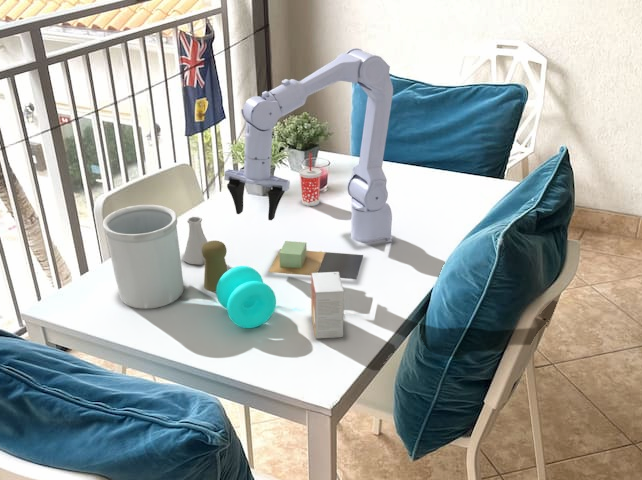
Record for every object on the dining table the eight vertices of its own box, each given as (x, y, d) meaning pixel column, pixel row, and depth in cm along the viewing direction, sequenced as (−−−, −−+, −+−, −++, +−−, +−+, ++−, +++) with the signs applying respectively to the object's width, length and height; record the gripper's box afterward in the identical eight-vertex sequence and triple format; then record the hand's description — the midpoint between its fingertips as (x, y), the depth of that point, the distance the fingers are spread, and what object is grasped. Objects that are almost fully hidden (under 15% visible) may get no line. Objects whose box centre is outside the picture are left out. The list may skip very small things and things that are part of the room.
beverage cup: (308, 196, 197) (307, 147, 189) (326, 201, 194) (326, 152, 186) (295, 203, 192) (294, 154, 185) (313, 208, 189) (312, 158, 182)
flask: (219, 255, 167) (216, 216, 161) (203, 267, 161) (199, 228, 156) (194, 249, 169) (189, 211, 164) (177, 262, 164) (172, 222, 158)
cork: (226, 297, 150) (222, 250, 144) (200, 294, 151) (194, 248, 145) (235, 283, 155) (231, 238, 149) (209, 281, 156) (204, 236, 150)
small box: (311, 318, 142) (310, 272, 136) (338, 316, 142) (339, 270, 137) (314, 339, 135) (314, 292, 130) (343, 337, 136) (344, 290, 130)
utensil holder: (156, 317, 143) (144, 239, 133) (101, 300, 149) (86, 224, 139) (199, 286, 154) (191, 212, 144) (147, 271, 160) (136, 199, 150)
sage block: (279, 266, 159) (279, 252, 157) (285, 254, 164) (285, 240, 162) (301, 268, 158) (300, 254, 156) (306, 256, 163) (306, 242, 161)
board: (268, 275, 157) (268, 271, 157) (280, 252, 167) (280, 248, 167) (356, 283, 154) (356, 279, 154) (363, 258, 164) (363, 254, 163)
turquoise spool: (231, 335, 137) (227, 291, 131) (216, 311, 144) (212, 268, 139) (279, 324, 140) (277, 280, 135) (261, 301, 148) (259, 259, 142)
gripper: (219, 155, 148) (218, 215, 155) (283, 166, 145) (279, 227, 152) (232, 147, 154) (230, 205, 161) (294, 157, 151) (290, 217, 157)
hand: (255, 215), depth 156 cm, fingers open, 7 cm apart
